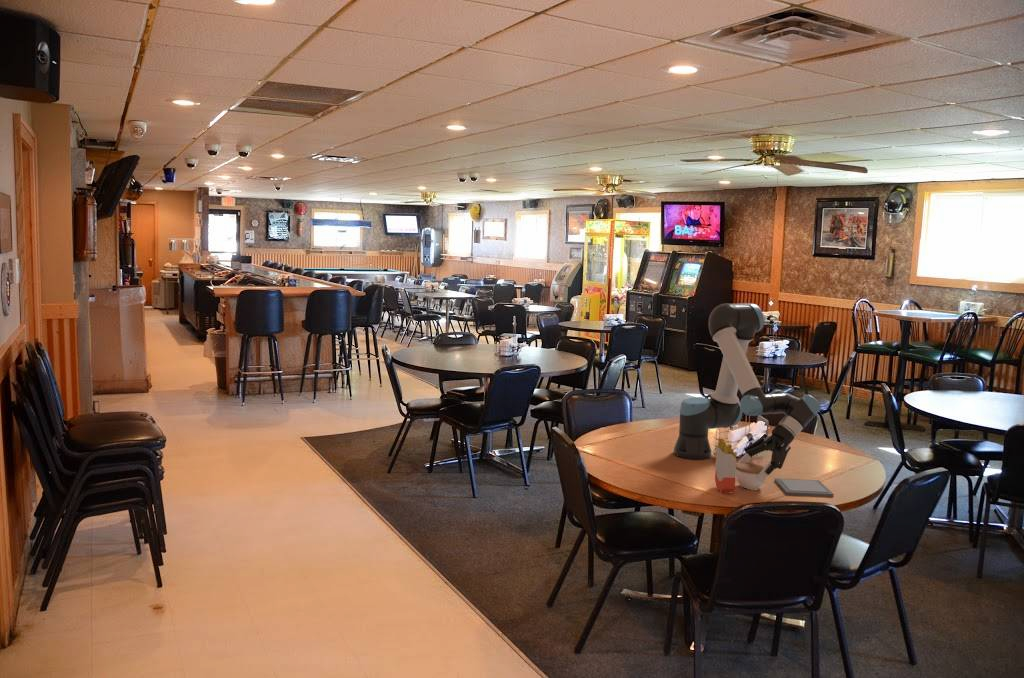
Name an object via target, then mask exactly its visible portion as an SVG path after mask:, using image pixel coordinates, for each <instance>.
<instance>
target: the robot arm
mask: <svg viewBox="0 0 1024 678" xmlns="http://www.w3.org/2000/svg"><path fill="white" fill-rule="evenodd" d="M764 324H765V315H764V312H763V311H762V309H761V308H760V306H759V305H758V304H756V303H749V302H744V303H743V302H741V303H735V302H734V303H721V304H719V305H717V306H716V307H714V308H713V309H712V311H711V312H710V315H709V317H708V330H709V334H710V336H711V338H712V341H713V342H716V343H717V345H718V347H719V350H720V351H721V354H722V355H723V356H722V360H721V361H722V362H721V364H720V365H721V366H720V370H719V375H718V379H717V382H716V388H715V390H714V391H713V392H711V393H710V397H709V399H708V398H706V397H688V398H685V399H683V400H682V401H681V403H680V409H679V426H678V436H677V437H678V438H677V440H676V442H675V445H674V447H673V454H674V453H675V454H676V455H678V456H681V457H680V458H682V457H685V458H684V459H686V458H689V460H707V458H708V459H710V458H711V457H712V449H711V445H710V444H711V443H710V440H709V430H711V429H713V430H714V429H722V428H723V429H728V428H731V427H735V426H736V425H738V424H739V423H740V421H741V420H742V417H743V414H744V415H746V416H753V417H754V416H755V417H758V415H760V416H762V415H774V414H784V415H785V416H784V417H783V418H782V419H781V420H780V421H779V422H778V424H777V425H776V426H774V428H773V429H772V430H771V434H772V435H771V436H770V437H768V436H767V435H766V434H764V435H763V436H762V437H761V438H760V439H759V438H758V439H756V440H755V441H753V442H752V443H750V444H749V445H748V446H746V447H744V448H743V450H744V452H745V453H744V455H743V456H741V457H740V459H739V460H738V461H737V462H736V464H738V463H745V462H748V463H750V462H751V460H752V458H753V456H756V455H758V454H760V453H763V452H767V451H770V452H771V458H770V461H769V462H768V463H767V464H766V465H764V466H765V467H764V469H763V470H762V471H761V472H760V473H759V474H758V475H757V476H756V477H757V478H758V479H759V480H760V482H763V480H764V479H765V478H767V477H768V476H770V475H771V473H772V472H773V471H774V470H776V469H778V470H781V469H782V468H783V465H784V463H785V460H786V458H787V455H788V453H789V451H790V450H791V449H792V448H791V446H790V444H791V443H792V442H793V441H794V440H795V438H796V437H797V436H798V435H799V434H800V433H801V432H802V431H803V430H804V428H805V427H806V426H807V425H808V424H809V423H810V422H811V421H812V420H813V419H814V418H815V417H816V415H818V413H819V412H820V410H821V409H822V405H821V403H820V401H819V400H817V399H816V398H815V397H814V396H812V395H810V394H804V395H803V396H801V397H798V396H796V395H795V396H794V395H792V394H791V393H789V392H787V391H784V390H781V389H774V390H772V391H770V392H769V393H764V390H763V389H762V387H761V384H760V382H759V380H758V378H757V376H756V375H755V372H754V371H753V368H752V365H751V363H750V361H749V360H748V357H747V352H748V347H749V343H750V342H753V340H754V339H755V337H756V336H755V335H756V333H758V332H761V330H763V328H764ZM738 390H739V392H740V394H741V395H742V397H741V399H740V398H739V397H738V396H737V394H738ZM675 454H674V455H675ZM676 455H675V456H676ZM678 456H677V457H678ZM765 480H766V479H765Z"/></svg>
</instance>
